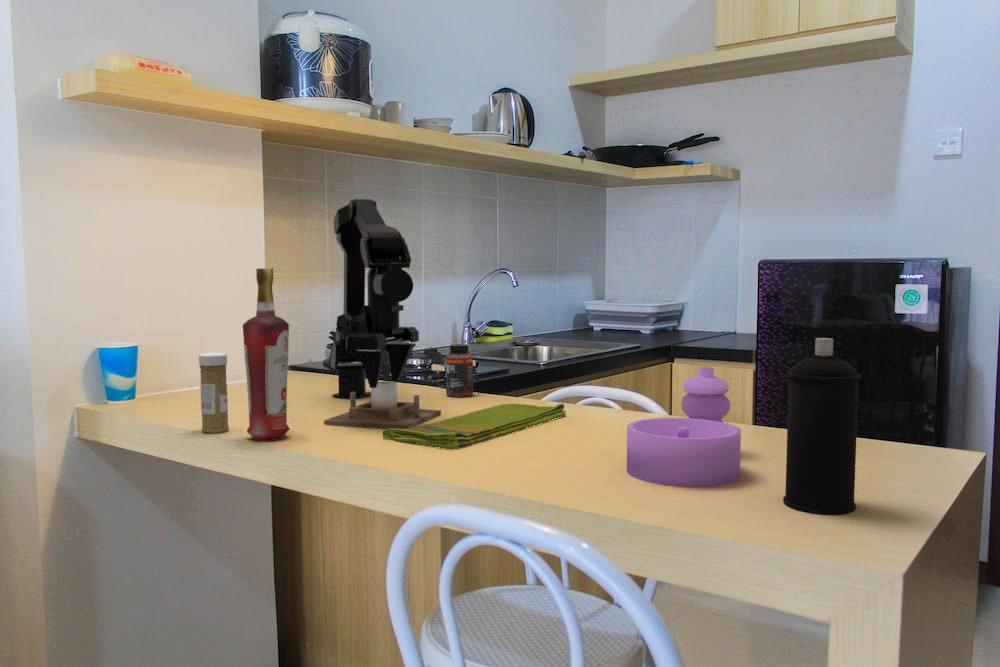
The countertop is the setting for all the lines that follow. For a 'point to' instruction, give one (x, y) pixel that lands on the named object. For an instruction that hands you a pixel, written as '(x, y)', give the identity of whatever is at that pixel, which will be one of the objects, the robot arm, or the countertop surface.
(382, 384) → the roll
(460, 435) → the dish towel
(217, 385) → the spice jar
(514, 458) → the countertop surface
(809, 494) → the aerosol can
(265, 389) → the liquor
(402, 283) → the robot arm
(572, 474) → the countertop surface
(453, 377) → the supplement bottle
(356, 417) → the holder
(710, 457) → the container set
